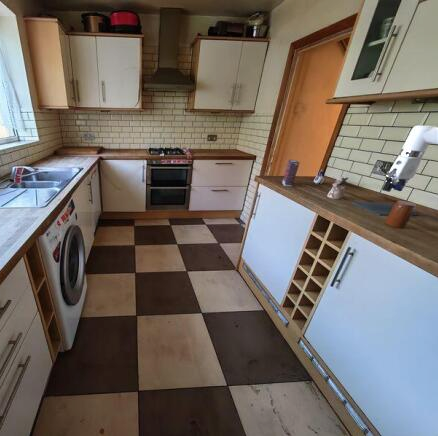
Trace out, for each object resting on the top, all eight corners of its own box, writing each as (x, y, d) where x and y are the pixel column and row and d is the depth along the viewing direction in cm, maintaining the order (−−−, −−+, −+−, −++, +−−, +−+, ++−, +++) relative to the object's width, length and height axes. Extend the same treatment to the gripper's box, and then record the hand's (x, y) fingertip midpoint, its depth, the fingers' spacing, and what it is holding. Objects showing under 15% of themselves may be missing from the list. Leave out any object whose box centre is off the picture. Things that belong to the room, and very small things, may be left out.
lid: (398, 189, 108) (400, 186, 107) (381, 185, 114) (382, 182, 113) (406, 188, 111) (407, 185, 110) (388, 184, 116) (390, 180, 115)
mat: (385, 203, 125) (386, 202, 125) (417, 215, 111) (418, 214, 110) (351, 203, 124) (351, 202, 124) (379, 215, 110) (379, 214, 109)
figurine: (325, 194, 136) (333, 174, 131) (339, 196, 134) (347, 176, 129) (329, 198, 130) (337, 177, 125) (344, 200, 128) (353, 179, 123)
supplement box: (292, 186, 148) (300, 162, 142) (284, 185, 150) (291, 161, 143) (289, 183, 156) (296, 159, 149) (281, 182, 157) (288, 159, 150)
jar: (393, 221, 103) (405, 200, 99) (408, 228, 98) (422, 206, 93) (380, 221, 103) (391, 200, 99) (395, 228, 97) (407, 205, 93)
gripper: (407, 155, 100) (386, 193, 108) (435, 155, 104) (413, 192, 112) (387, 152, 107) (370, 188, 115) (414, 152, 110) (395, 187, 118)
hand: (391, 190), depth 113 cm, fingers closed on lid, 6 cm apart
